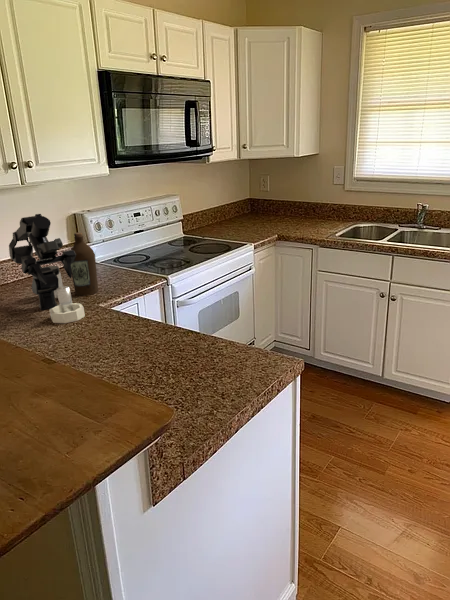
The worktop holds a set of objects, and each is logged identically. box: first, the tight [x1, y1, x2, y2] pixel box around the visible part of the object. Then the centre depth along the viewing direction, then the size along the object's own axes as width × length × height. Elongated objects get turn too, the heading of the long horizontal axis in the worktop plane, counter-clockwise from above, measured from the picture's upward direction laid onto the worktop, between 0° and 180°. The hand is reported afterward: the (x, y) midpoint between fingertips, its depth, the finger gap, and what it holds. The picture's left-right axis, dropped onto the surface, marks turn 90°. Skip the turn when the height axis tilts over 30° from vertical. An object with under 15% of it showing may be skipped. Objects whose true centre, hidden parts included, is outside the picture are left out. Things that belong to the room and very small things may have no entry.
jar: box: [41, 265, 64, 299], centre depth 196 cm, size 9×8×12 cm
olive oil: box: [70, 232, 99, 296], centre depth 197 cm, size 11×11×25 cm
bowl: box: [49, 302, 86, 324], centre depth 171 cm, size 11×11×4 cm
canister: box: [57, 285, 73, 313], centre depth 169 cm, size 4×4×10 cm
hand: (58, 280), depth 170 cm, fingers open, 9 cm apart
